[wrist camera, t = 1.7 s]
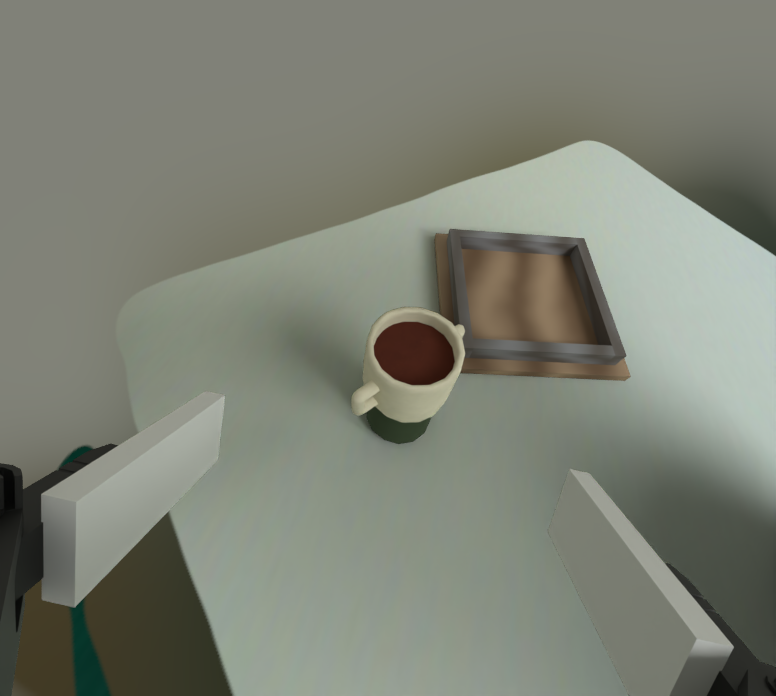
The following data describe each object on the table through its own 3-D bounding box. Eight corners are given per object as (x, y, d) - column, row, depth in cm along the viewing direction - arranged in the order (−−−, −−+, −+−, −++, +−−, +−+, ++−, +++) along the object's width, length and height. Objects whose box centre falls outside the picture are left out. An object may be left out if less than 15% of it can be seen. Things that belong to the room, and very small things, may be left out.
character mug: (416, 361, 42) (439, 280, 31) (461, 411, 39) (504, 342, 28) (331, 418, 38) (322, 348, 27) (375, 478, 35) (386, 429, 24)
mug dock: (579, 249, 53) (591, 232, 50) (624, 380, 42) (642, 367, 40) (434, 239, 52) (438, 221, 49) (444, 372, 41) (450, 358, 39)
